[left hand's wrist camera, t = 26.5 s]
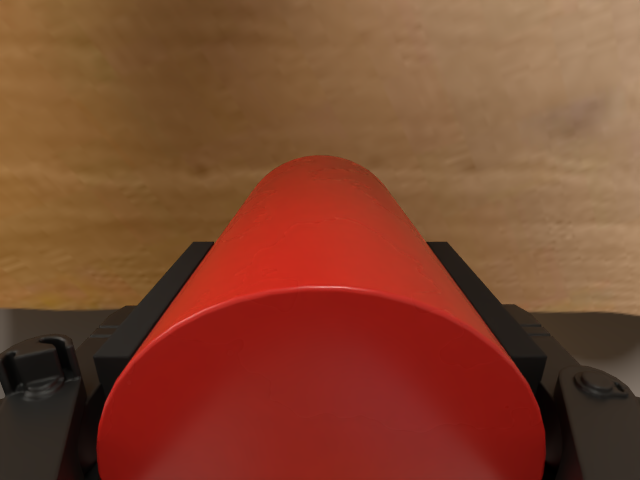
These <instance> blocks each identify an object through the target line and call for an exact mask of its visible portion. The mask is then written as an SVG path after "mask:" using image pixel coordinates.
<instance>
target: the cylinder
mask: <svg viewBox="0 0 640 480" xmlns="http://www.w3.org/2000/svg"><path fill="white" fill-rule="evenodd" d="M96 453H97V464H98V472H99V476H100V479H101V480H542V478H543V474H544V467H545V459H546V442H545V429H544V425H543V420H542V416H541V412H540V408H539V405H538V403H537V401H536V399H535V396H534V394H533V392H532V390H531V388H530V385H529V383H528V382H527V381H526V379H525V378H524V376H523V375H522V373H521V372H520V370H519V369H518V368H517V366H516V365H515V363H514V362H513V360H512V359H511V358H510V356H509V355H508V354H507V352H506V351H505V349H504V348H503V347H502V345H501V344H500V343H499V341H498V340H497V339H496V337H495V336H494V334H493V333H492V332H491V330H490V329H489V328H488V326H487V325H486V324H485V322H484V321H483V319H482V318H481V317H480V315H479V314H478V313H477V311H476V310H475V309H474V307H473V306H472V304H471V303H470V302H469V300H468V299H467V298H466V296H465V295H464V294H463V292H462V291H461V289H460V288H459V287H458V285H457V284H456V283H455V281H454V280H453V278H452V277H451V276H450V274H449V273H448V272H447V270H446V269H445V268H444V266H443V265H442V263H441V262H440V261H439V259H438V258H437V257H436V255H435V254H434V253H433V251H432V250H431V248H430V247H429V246H428V244H427V243H426V242H425V240H424V239H423V238H422V236H421V235H420V233H419V232H418V231H417V229H416V228H415V227H414V225H413V224H412V223H411V221H410V220H409V218H408V217H407V216H406V214H405V213H404V212H403V210H402V209H401V207H400V206H399V205H398V203H397V202H396V201H395V199H394V198H393V197H392V195H391V194H390V192H389V191H388V190H387V188H386V187H385V186H384V184H383V183H382V182H381V181H380V180H379V179H378V178H377V177H376V176H375V175H374V174H372V173H371V172H370V171H369V170H367V169H365V168H364V167H362V166H361V165H359V164H357V163H354V162H352V161H350V160H347V159H343V158H340V157H334V156H327V155H315V156H306V157H302V158H298V159H294V160H292V161H289V162H287V163H284V164H282V165H281V166H279V167H277V168H275V169H274V170H272V171H271V172H270V173H269V174H267V175H266V176H265V177H264V178H263V179H262V180H261V181H260V182H259V183H258V184H257V186H256V187H255V188H254V190H253V191H252V193H251V194H250V195H249V197H248V198H247V199H246V201H245V202H244V204H243V205H242V206H241V208H240V209H239V211H238V212H237V213H236V215H235V216H234V217H233V219H232V220H231V222H230V223H229V224H228V226H227V227H226V229H225V230H224V231H223V233H222V234H221V235H220V237H219V238H218V240H217V241H216V242H215V244H214V245H213V247H212V248H211V249H210V251H209V252H208V253H207V255H206V256H205V258H204V259H203V260H202V262H201V263H200V265H199V266H198V267H197V269H196V270H195V271H194V273H193V274H192V276H191V277H190V278H189V280H188V281H187V283H186V284H185V285H184V287H183V288H182V289H181V291H180V292H179V294H178V295H177V296H176V298H175V299H174V301H173V302H172V303H171V305H170V306H169V307H168V309H167V310H166V312H165V313H164V314H163V316H162V317H161V319H160V320H159V321H158V323H157V324H156V325H155V327H154V328H153V330H152V331H151V332H150V334H149V335H148V337H147V338H146V339H145V341H144V342H143V343H142V345H141V346H140V348H139V349H138V350H137V352H136V353H135V355H134V356H133V357H132V359H131V360H130V361H129V363H128V364H127V366H126V367H125V368H124V370H123V371H122V373H121V374H120V375H119V377H118V378H117V379H116V381H115V383H114V385H113V387H112V389H111V391H110V393H109V395H108V397H107V399H106V401H105V404H104V408H103V411H102V415H101V418H100V421H99V426H98V436H97V446H96Z"/></svg>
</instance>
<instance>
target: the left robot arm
mask: <svg viewBox="0 0 640 480" xmlns="http://www.w3.org/2000/svg"><path fill="white" fill-rule="evenodd" d="M426 243H427V244H428V246H429V247H430V248H431V250H432V251H433V253H434V254H435V255H436V257H437V258H438V259H439V261H440V262H441V263H442V265H443V266H444V268H445V269H446V270H447V272H448V273H449V274H450V276H451V277H452V278H453V280H454V281H455V283H456V284H457V285H458V287H459V288H460V289H461V291H462V292H463V294H464V295H465V296H466V298H467V299H468V300H469V302H470V303H471V304H472V306H473V307H474V309H475V310H476V311H477V313H478V314H479V315H480V317H481V318H482V319H483V321H484V322H485V324H486V325H487V326H488V328H489V329H490V330H491V332H492V333H493V334H494V336H495V337H496V339H497V340H498V341H499V343H500V344H501V345H502V347H503V348H504V349H505V351H506V352H507V354H508V355H509V356H510V358H511V359H512V360H513V362H514V363H515V365H516V366H517V368H518V369H519V370H520V372H521V373H522V375H523V376H524V378H525V379H526V381H527V382H528V383H529V385H530V388H531V390H532V392H533V394H534V396H535V399H536V401H537V403H538V405H539V408H540V412H541V416H542V420H543V425H544V429H545V442H546V459H545V467H544V474H543V478H542V480H640V397H636V396H635V395H634V394H633V393H632V391H631V390H630V389H629V387H628V386H627V385H625V384H624V383H623V382H621V381H620V380H619V379H617V378H616V377H614V376H612V375H610V374H608V373H606V372H604V371H602V370H598V369H595V368H592V367H589V366H582V365H580V364H579V363H578V362H577V361H576V360H575V359H574V358H573V357H572V356H571V355H570V354H569V353H568V352H567V351H566V350H565V349H564V348H563V347H562V346H561V345H560V343H559V342H558V341H557V340H556V339H555V338H554V337H553V336H550V333H549V332H548V331H547V330H546V329H545V328H544V327H541V324H540V323H539V322H538V321H537V320H536V319H535V318H534V317H533V316H532V315H531V314H530V313H528V312H527V311H525V310H523V309H521V308H520V307H518V306H516V305H515V304H501V303H500V302H499V301H498V299H497V298H496V297H495V296H494V295H493V294H492V293H491V292H490V290H489V289H488V288H487V287H486V286H485V285H484V284H483V282H482V281H481V280H480V279H479V278H478V277H477V276H476V274H475V273H474V272H473V271H472V270H471V269H470V268H469V266H468V265H467V264H466V263H465V262H464V261H463V260H462V258H461V257H460V256H459V255H458V254H457V253H456V252H455V251H454V249H453V248H452V247H451V246H450V245H449V244H448V243H447V242H426ZM213 245H214V242H193V243H192V244H191V245H190V246H189V247H188V249H187V250H186V251H185V252H184V253H183V254H182V255H181V256H180V258H179V259H178V260H177V261H176V262H175V263H174V264H173V266H172V267H171V268H170V269H169V270H168V271H167V272H166V274H165V275H164V276H163V277H162V278H161V279H160V280H159V282H158V283H157V284H156V285H155V286H154V287H153V288H152V290H151V291H150V292H149V293H148V294H147V295H146V296H145V297H144V299H143V300H142V301H141V302H140V303H139V304H138V305H137V306H125V307H123V308H121V309H119V310H118V311H116V312H114V313H113V314H111V315H110V316H109V317H108V318H107V319H106V320H105V321H104V322H103V323H102V324H101V325H100V326H99V328H97V329H96V330H95V331H94V332H93V333H92V334H91V336H90V338H87V339H86V340H85V341H84V342H83V343H82V344H81V346H80V347H79V348H78V349H77V350H76V351H75V349H74V346H73V342H72V339H71V338H69V337H68V336H66V335H60V334H50V335H42V336H38V337H34V338H31V339H27V340H25V341H22V342H20V343H18V344H16V345H13V346H12V347H10V348H8V349H7V350H5V351H4V352H2V353H1V354H0V382H1V385H2V387H3V390H4V393H5V395H6V396H5V398H3V399H0V480H101V479H100V476H99V472H98V464H97V453H96V446H97V436H98V426H99V421H100V418H101V415H102V411H103V408H104V404H105V401H106V399H107V397H108V395H109V393H110V391H111V389H112V387H113V385H114V383H115V381H116V379H117V378H118V377H119V375H120V374H121V373H122V371H123V370H124V368H125V367H126V366H127V364H128V363H129V361H130V360H131V359H132V357H133V356H134V355H135V353H136V352H137V350H138V349H139V348H140V346H141V345H142V343H143V342H144V341H145V339H146V338H147V337H148V335H149V334H150V332H151V331H152V330H153V328H154V327H155V325H156V324H157V323H158V321H159V320H160V319H161V317H162V316H163V314H164V313H165V312H166V310H167V309H168V307H169V306H170V305H171V303H172V302H173V301H174V299H175V298H176V296H177V295H178V294H179V292H180V291H181V289H182V288H183V287H184V285H185V284H186V283H187V281H188V280H189V278H190V277H191V276H192V274H193V273H194V271H195V270H196V269H197V267H198V266H199V265H200V263H201V262H202V260H203V259H204V258H205V256H206V255H207V253H208V252H209V251H210V249H211V248H212V247H213Z"/></svg>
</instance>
